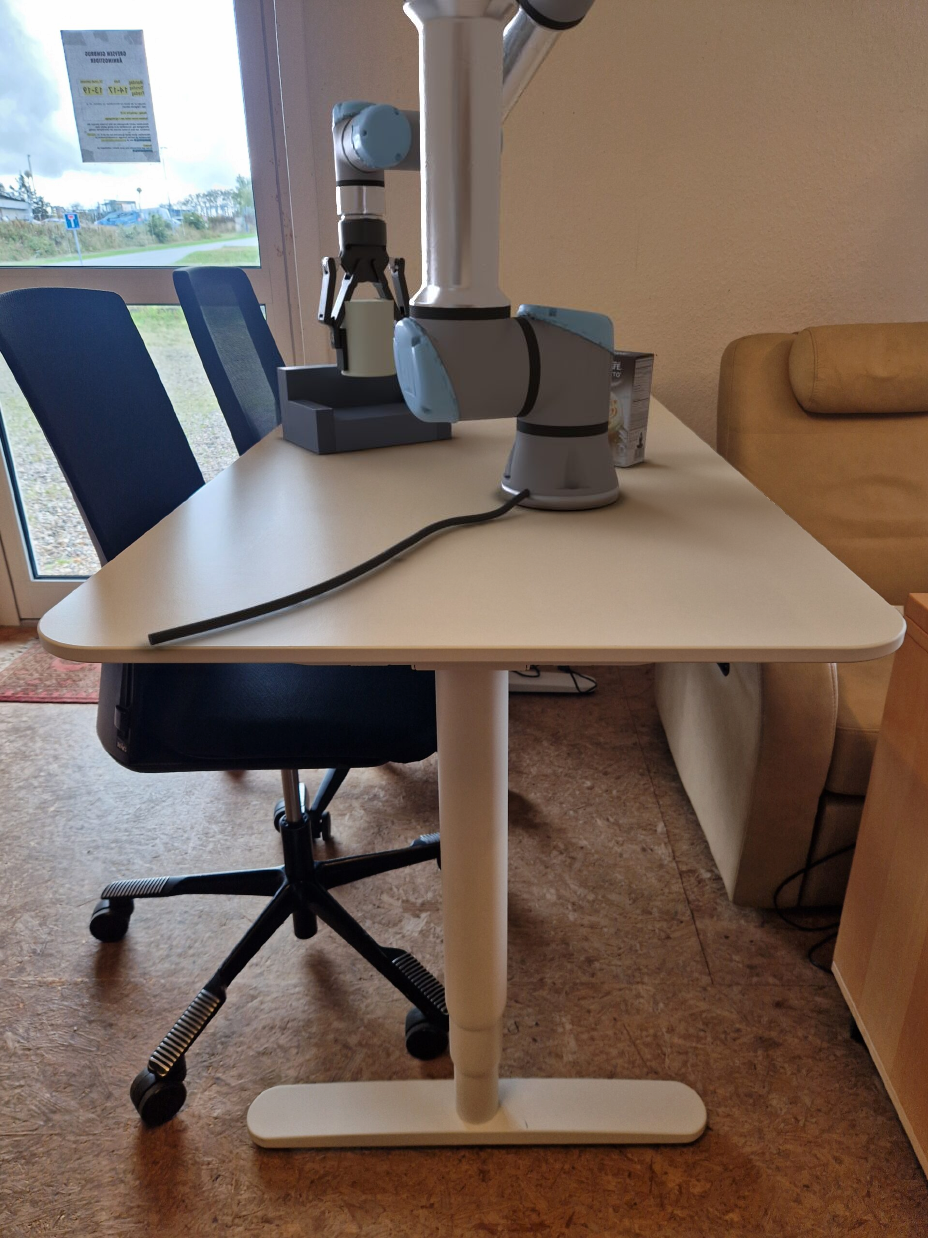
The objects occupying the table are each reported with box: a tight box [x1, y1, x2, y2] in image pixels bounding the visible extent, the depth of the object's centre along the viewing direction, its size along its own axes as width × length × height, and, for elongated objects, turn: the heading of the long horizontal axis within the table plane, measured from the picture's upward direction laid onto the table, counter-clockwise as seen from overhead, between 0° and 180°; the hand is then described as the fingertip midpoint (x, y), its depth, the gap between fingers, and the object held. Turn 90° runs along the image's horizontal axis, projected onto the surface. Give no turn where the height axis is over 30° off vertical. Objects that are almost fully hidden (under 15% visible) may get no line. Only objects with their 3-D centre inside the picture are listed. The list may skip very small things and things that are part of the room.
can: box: [340, 296, 396, 377], centre depth 135 cm, size 9×9×12 cm
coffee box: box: [608, 349, 655, 468], centre depth 124 cm, size 9×6×16 cm
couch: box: [276, 363, 453, 455], centre depth 141 cm, size 16×25×12 cm, turn 122°
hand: (369, 367), depth 137 cm, fingers closed on can, 9 cm apart
